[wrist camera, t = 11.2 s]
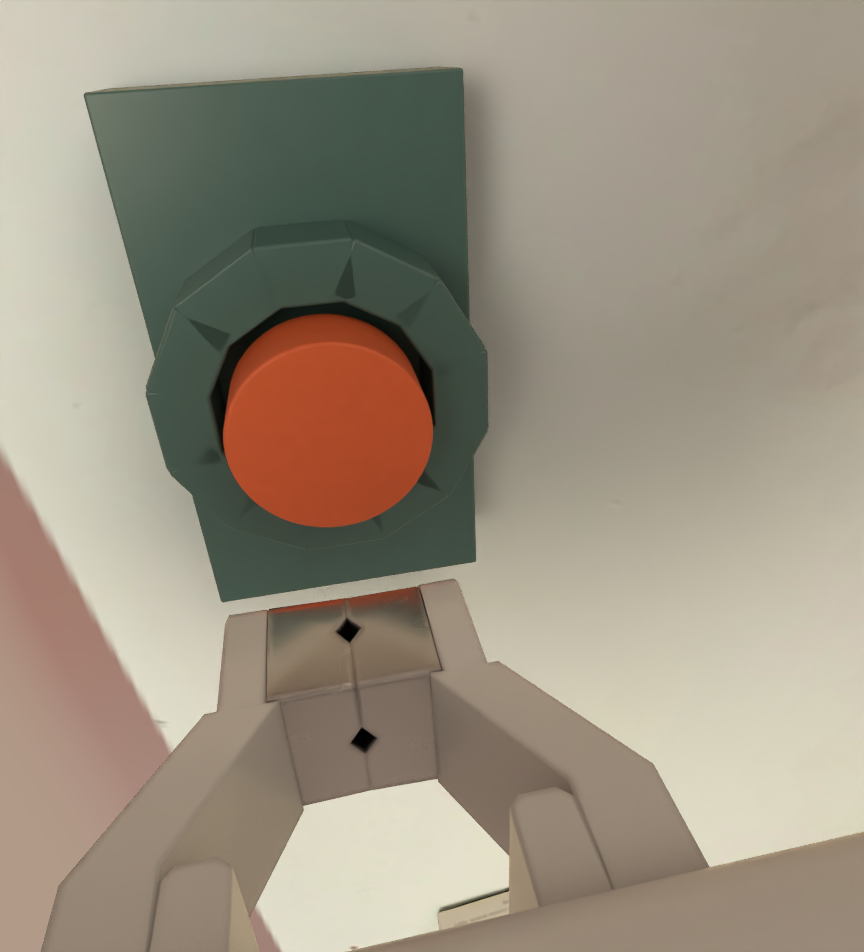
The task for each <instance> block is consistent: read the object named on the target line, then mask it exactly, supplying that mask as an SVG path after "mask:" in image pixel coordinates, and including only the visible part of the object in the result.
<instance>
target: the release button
mask: <svg viewBox="0 0 864 952" xmlns="http://www.w3.org/2000/svg"><path fill="white" fill-rule="evenodd" d="M432 441H433V423H432V416H431V412H430V408H429V405H428V402H427V400H426V397H425V395H424V393H423V390H422V388H421V386H420V384H419V381H418V379H417V377H416V374H415V372H414V370H413V368H412V365H411V363H410V361H409V360H408V358H407V356H406V355H405V353H404V352H403V351H402V349H401V348H400V347H399V346H398V345H397V343H396V342H395V341H393V340H392V339H391V338H390V337H389V336H388V335H387V334H385V333H384V332H382V331H381V330H379V329H378V328H376V327H375V326H373V325H371V324H369V323H367V322H364V321H362V320H359V319H356V318H353V317H348V316H344V315H338V314H311V315H306V316H300V317H297V318H293V319H290V320H287V321H285V322H283V323H281V324H278V325H276V326H274V327H273V328H271V329H270V330H268V331H266V332H265V333H264V334H262V335H261V336H260V337H259V338H258V339H256V340H255V341H254V342H253V343H252V344H251V345H250V347H249V348H248V349H247V350H246V351H245V353H244V354H243V356H242V357H241V359H240V360H239V362H238V364H237V366H236V368H235V370H234V373H233V376H232V379H231V382H230V388H229V394H228V401H227V408H226V415H225V421H224V428H223V444H224V450H225V456H226V459H227V462H228V465H229V468H230V470H231V472H232V474H233V476H234V478H235V479H236V481H237V482H238V484H239V485H240V487H241V488H242V489H243V490H244V491H245V493H246V494H247V495H248V496H249V497H250V498H251V499H252V500H253V501H254V502H256V503H257V504H258V505H259V506H261V507H262V508H264V509H265V510H267V511H268V512H270V513H271V514H273V515H275V516H277V517H279V518H282V519H284V520H287V521H290V522H293V523H297V524H301V525H305V526H313V527H339V526H346V525H351V524H356V523H359V522H362V521H365V520H368V519H371V518H373V517H375V516H377V515H379V514H381V513H383V512H385V511H386V510H388V509H390V508H391V507H392V506H394V505H395V504H396V503H398V502H399V501H400V500H401V499H402V498H403V497H404V496H405V495H406V494H407V493H408V492H409V491H410V490H411V489H412V488H413V486H414V485H415V484H416V482H417V481H418V479H419V478H420V476H421V474H422V473H423V471H424V468H425V466H426V464H427V462H428V459H429V455H430V452H431V447H432Z"/></svg>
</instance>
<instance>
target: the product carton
mask: <svg viewBox="0 0 864 952" xmlns="http://www.w3.org/2000/svg"><path fill="white" fill-rule="evenodd" d="M507 914H509V891H508V892H505V893H501V894H498V895H495V896H492V897H489V898H485V899H482V900H479V901H476V902H472V903H469V904H466V905H463V906H460V907H456V908H453V909H450V910H446V911H442V912H439V913H438V924H439V929H440V930H443V929H447V928H451V927H455V926H460V925H464V924H468V923H473V922H477V921H481V920H486V919H490V918H494V917H499V916H503V915H507Z"/></svg>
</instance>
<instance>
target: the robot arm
mask: <svg viewBox="0 0 864 952" xmlns="http://www.w3.org/2000/svg"><path fill="white" fill-rule="evenodd" d="M433 779H438V782H439V783H440V784H441V785H442V786H443V787H444V788H445V789H446V790H447V791H448V792H449V793H450V794H451V796H452V797H453V798H454V799H455V800H456V801H457V802H458V803H459V804H460V805H461V806H462V807H463V808H464V809H465V810H466V811H467V812H468V813H469V814H470V815H471V816H472V818H473V819H474V820H475V821H476V822H477V823H478V824H479V825H480V826H481V827H482V828H483V829H484V830H485V831H486V832H487V833H488V834H489V835H490V836H491V837H492V838H493V840H494V841H495V842H496V843H497V844H498V845H499V846H500V847H501V848H502V849H503V850H504V851H505V852H506V853H507V854H508V855H509V914H507V915H503V916H499V917H494V918H490V919H486V920H481V921H477V922H473V923H468V924H464V925H460V926H455V927H451V928H447V929H443V930H438V931H434V932H430V933H425V934H421V935H417V936H412V937H408V938H404V939H399V940H395V941H391V942H386V943H382V944H378V945H373V946H369V947H365V948H360V949H356V950H352V951H347V952H864V832H861V833H856V834H852V835H848V836H843V837H839V838H835V839H830V840H826V841H822V842H817V843H813V844H809V845H804V846H800V847H796V848H791V849H787V850H783V851H778V852H774V853H770V854H765V855H761V856H757V857H752V858H748V859H744V860H739V861H735V862H731V863H726V864H722V865H718V866H714V867H709V865H708V864H707V862H706V860H705V858H704V856H703V854H702V853H701V851H700V849H699V847H698V845H697V843H696V842H695V840H694V838H693V836H692V834H691V832H690V831H689V829H688V827H687V825H686V823H685V821H684V819H683V818H682V816H681V814H680V812H679V810H678V808H677V807H676V805H675V803H674V801H673V799H672V797H671V796H670V794H669V792H668V790H667V788H666V786H665V785H664V783H663V781H662V779H661V777H660V775H659V774H658V772H657V770H656V768H655V766H654V764H653V763H651V762H650V761H648V760H647V759H645V758H644V757H642V756H641V755H639V754H638V753H636V752H635V751H633V750H631V749H630V748H628V747H627V746H625V745H624V744H622V743H621V742H619V741H618V740H616V739H615V738H613V737H612V736H610V735H609V734H607V733H606V732H604V731H603V730H601V729H600V728H598V727H597V726H595V725H594V724H592V723H591V722H589V721H588V720H586V719H585V718H583V717H582V716H580V715H579V714H577V713H576V712H574V711H573V710H571V709H570V708H568V707H567V706H565V705H564V704H562V703H561V702H559V701H558V700H556V699H555V698H553V697H552V696H550V695H549V694H547V693H546V692H544V691H543V690H541V689H540V688H538V687H537V686H535V685H534V684H532V683H531V682H529V681H528V680H526V679H525V678H523V677H522V676H520V675H519V674H517V673H516V672H514V671H513V670H511V669H510V668H508V667H507V666H505V665H504V664H502V663H500V662H499V661H497V662H491V663H487V661H486V658H485V655H484V652H483V650H482V647H481V644H480V641H479V638H478V636H477V633H476V630H475V627H474V625H473V622H472V619H471V616H470V614H469V611H468V608H467V605H466V602H465V600H464V597H463V594H462V591H461V589H460V586H459V583H458V582H457V581H456V580H455V579H449V580H444V581H438V582H433V583H428V584H422V585H418V587H411V588H405V589H399V590H393V591H387V592H381V593H376V594H370V595H364V596H358V597H352V598H346V599H345V598H344V599H337V600H330V601H323V602H316V603H309V604H302V605H294V606H287V607H280V608H273V609H269V611H268V610H262V611H256V612H249V613H242V614H235V615H229V617H228V619H227V621H226V623H225V632H224V642H223V653H222V663H221V673H220V684H219V694H218V704H217V712H214V713H209V714H204V715H203V717H202V718H201V719H200V720H199V721H198V723H197V724H196V725H195V726H194V727H193V728H192V730H191V731H190V732H189V733H188V734H187V735H186V737H185V738H184V739H183V740H182V741H181V743H180V744H179V745H178V746H177V747H176V748H175V750H174V751H173V752H172V753H171V754H170V755H169V757H168V758H167V759H166V760H165V762H163V764H162V765H161V766H160V767H159V768H158V770H157V771H156V772H155V773H154V774H153V775H152V777H151V778H150V779H149V780H148V781H147V782H146V784H145V785H144V786H143V787H142V788H141V790H140V791H139V792H138V793H137V794H136V795H135V797H134V798H133V799H132V800H131V801H130V803H129V804H128V805H127V806H126V807H125V808H124V810H123V811H122V812H121V813H120V814H119V815H118V817H117V818H116V819H115V820H114V821H113V822H112V824H111V825H110V826H109V827H108V828H107V830H106V831H105V832H104V833H103V834H102V835H101V837H100V838H99V839H98V840H97V841H96V842H95V844H94V845H93V846H92V847H91V848H90V850H89V851H88V852H87V853H86V854H85V855H84V857H83V858H82V859H81V860H80V861H79V862H78V864H77V865H76V866H75V867H74V868H73V870H72V871H71V872H70V873H69V874H68V875H67V877H66V878H65V879H64V880H63V881H62V882H61V884H60V885H59V886H58V890H57V894H56V898H55V901H54V905H53V909H52V912H51V916H50V919H49V923H48V927H47V930H46V934H45V938H44V942H43V945H42V949H41V952H260V949H259V946H258V943H257V940H256V937H255V934H254V931H253V928H252V925H251V922H250V919H249V917H250V915H251V913H252V911H253V909H254V907H255V905H256V903H257V901H258V900H259V898H260V896H261V894H262V892H263V890H264V888H265V886H266V884H267V882H268V880H269V878H270V876H271V874H272V872H273V870H274V868H275V866H276V864H277V862H278V860H279V858H280V856H281V854H282V852H283V850H284V848H285V846H286V844H287V842H288V840H289V838H290V836H291V834H292V832H293V830H294V828H295V826H296V824H297V822H298V821H299V819H300V817H301V815H302V813H303V811H304V809H303V806H304V805H309V804H313V803H317V802H322V801H326V800H330V799H335V798H339V797H343V796H348V795H352V794H356V793H361V792H365V791H369V790H375V789H381V788H386V787H392V786H398V785H404V784H410V783H415V782H421V781H427V780H433ZM370 784H371V785H370Z"/></svg>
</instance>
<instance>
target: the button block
mask: <svg viewBox="0 0 864 952" xmlns="http://www.w3.org/2000/svg"><path fill="white" fill-rule="evenodd" d="M84 99H85V102H86V106H87V110H88V113H89V117H90V121H91V124H92V128H93V132H94V135H95V139H96V143H97V146H98V150H99V154H100V157H101V161H102V165H103V169H104V172H105V176H106V180H107V183H108V187H109V191H110V194H111V198H112V202H113V205H114V209H115V213H116V216H117V220H118V224H119V227H120V231H121V235H122V238H123V242H124V246H125V249H126V253H127V257H128V260H129V264H130V268H131V272H132V275H133V279H134V283H135V286H136V290H137V294H138V297H139V301H140V305H141V308H142V312H143V316H144V319H145V323H146V327H147V330H148V334H149V338H150V341H151V345H152V349H153V352H154V356H155V361H154V364H153V367H152V370H151V373H150V376H149V379H148V382H147V385H146V390H147V391H146V398H147V401H148V405H149V408H150V412H151V415H152V419H153V422H154V426H155V429H156V433H157V436H158V440H159V443H160V447H161V450H162V454H163V457H164V461H165V464H166V467H167V469H168V471H170V474H171V475H172V476H173V477H174V478H175V479H176V480H177V481H178V482H179V483H180V484H181V485H182V486H183V487H185V488H186V489H187V490H188V491H189V492H190V493H191V494H192V496H193V500H194V503H195V507H196V511H197V514H198V518H199V522H200V525H201V529H202V533H203V536H204V540H205V544H206V547H207V551H208V555H209V558H210V562H211V566H212V569H213V573H214V577H215V580H216V584H217V588H218V591H219V595H220V599H221V601H222V602H227V601H234V600H240V599H246V598H252V597H259V596H265V595H271V594H277V593H284V592H290V591H296V590H302V589H308V588H315V587H321V586H327V585H333V584H340V583H346V582H352V581H358V580H365V579H371V578H377V577H383V576H390V575H396V574H402V573H408V572H415V571H421V570H427V569H433V568H440V567H446V566H452V565H458V564H465V563H471V562H475V561H476V539H475V501H474V464H473V455H474V454H475V452H476V450H477V448H478V447H479V445H480V443H481V441H482V439H483V438H484V436H485V434H486V432H487V429H488V371H487V351H486V349H485V346H484V344H483V343H482V341H481V340H480V338H479V337H478V335H477V334H476V332H475V331H474V329H473V328H472V326H471V324H470V313H469V276H468V238H467V201H466V163H465V125H464V88H463V69H462V68H452V67H430V68H415V69H399V70H384V71H369V72H354V73H339V74H323V75H308V76H293V77H278V78H262V79H247V80H232V81H217V82H202V83H186V84H171V85H156V86H141V87H126V88H110V89H104V90H99V91H93V92H87V93H85V94H84ZM311 314H338V315H344V316H348V317H353V318H356V319H359V320H362V321H364V322H367V323H369V324H371V325H373V326H375V327H376V328H378V329H379V330H381V331H382V332H384V333H385V334H387V335H388V336H389V337H390V338H391V339H392V340H393V341H395V342H396V343H397V345H398V346H399V347H400V348H401V349H402V351H403V352H404V353H405V355H406V356H407V358H408V360H409V361H410V363H411V365H412V368H413V370H414V372H415V374H416V377H417V379H418V381H419V384H420V386H421V388H422V390H423V393H424V395H425V397H426V400H427V402H428V405H429V408H430V412H431V416H432V423H433V441H432V447H431V452H430V455H429V459H428V462H427V464H426V466H425V468H424V471H423V473H422V474H421V476H420V478H419V479H418V481H417V482H416V484H415V485H414V486H413V488H412V489H411V490H410V491H409V492H408V493H407V494H406V495H405V496H404V497H403V498H402V499H401V500H400V501H399V502H398V503H396V504H395V505H394V506H392V507H391V508H390V509H388V510H386V511H385V512H383V513H381V514H379V515H377V516H375V517H373V518H371V519H368V520H365V521H362V522H359V523H356V524H351V525H346V526H339V527H313V526H305V525H301V524H297V523H293V522H290V521H287V520H284V519H282V518H279V517H277V516H275V515H273V514H271V513H270V512H268V511H267V510H265V509H264V508H262V507H261V506H259V505H258V504H257V503H256V502H254V501H253V500H252V499H251V498H250V497H249V496H248V495H247V494H246V493H245V491H244V490H243V489H242V488H241V487H240V485H239V484H238V482H237V481H236V479H235V478H234V476H233V474H232V472H231V470H230V468H229V465H228V462H227V459H226V456H225V450H224V444H223V428H224V421H225V415H226V408H227V401H228V394H229V388H230V382H231V379H232V376H233V373H234V370H235V368H236V366H237V364H238V362H239V360H240V359H241V357H242V356H243V354H244V353H245V351H246V350H247V349H248V348H249V347H250V345H251V344H252V343H253V342H254V341H255V340H256V339H258V338H259V337H260V336H261V335H262V334H264V333H265V332H266V331H268V330H270V329H271V328H273V327H274V326H276V325H278V324H281V323H283V322H285V321H287V320H290V319H293V318H297V317H300V316H306V315H311Z"/></svg>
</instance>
